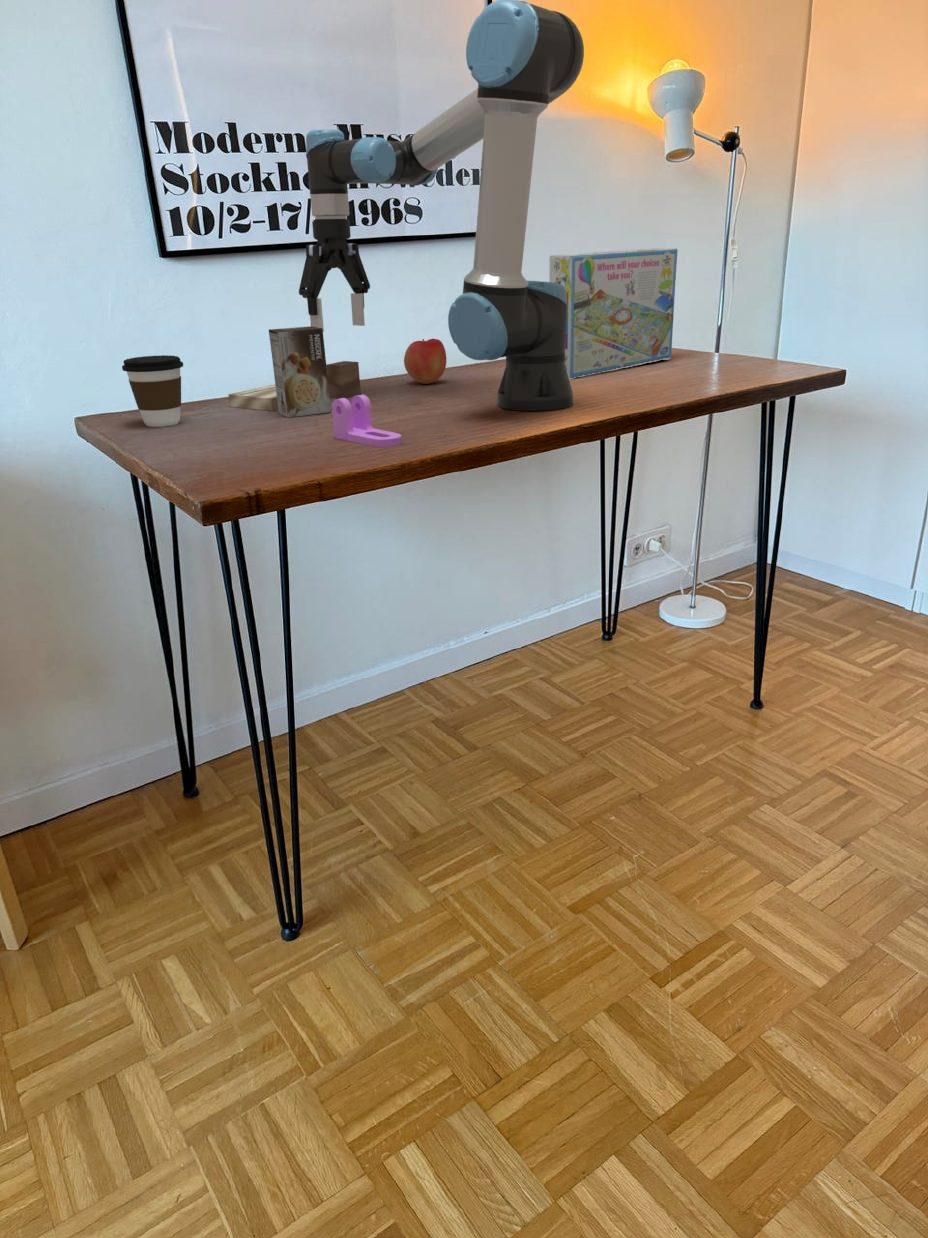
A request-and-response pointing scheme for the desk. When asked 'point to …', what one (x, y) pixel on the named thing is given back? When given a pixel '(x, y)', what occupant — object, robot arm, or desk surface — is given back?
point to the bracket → (360, 423)
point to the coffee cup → (156, 388)
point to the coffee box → (300, 371)
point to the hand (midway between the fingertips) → (338, 328)
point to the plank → (256, 399)
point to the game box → (616, 307)
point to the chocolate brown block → (343, 379)
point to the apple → (425, 360)
